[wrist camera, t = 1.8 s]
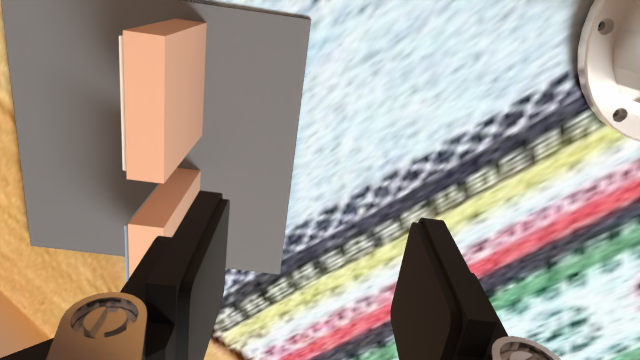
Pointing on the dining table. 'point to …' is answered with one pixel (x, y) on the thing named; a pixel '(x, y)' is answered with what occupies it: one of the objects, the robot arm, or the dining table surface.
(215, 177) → the rubber mat
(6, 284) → the dining table surface
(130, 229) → the peach flat block
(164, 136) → the terracotta tile
